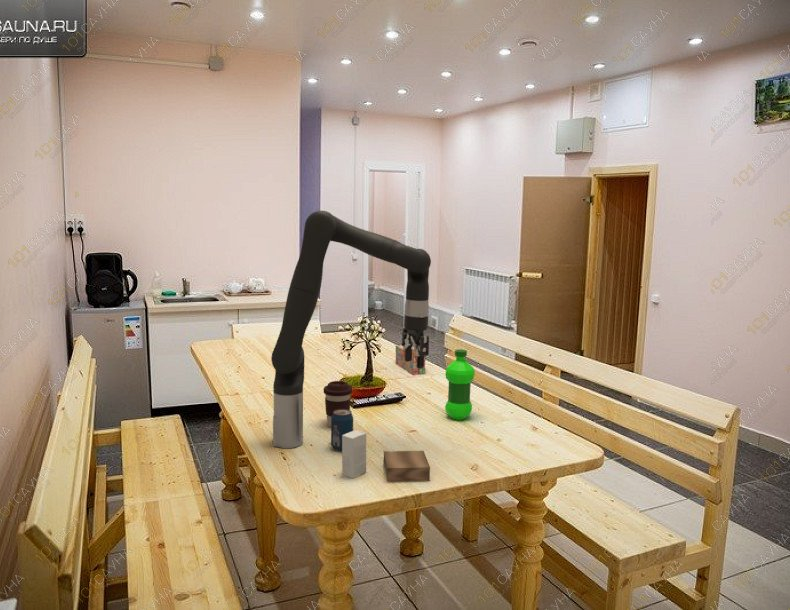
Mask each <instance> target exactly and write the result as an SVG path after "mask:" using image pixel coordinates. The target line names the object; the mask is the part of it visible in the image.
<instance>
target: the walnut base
mask: <svg viewBox="0 0 790 610" xmlns="http://www.w3.org/2000/svg"><path fill="white" fill-rule="evenodd" d="M382 461H383V469H384V474H385V477H386V478H385V479H386V482H387V483H389V482H390V483H393V482H394V483H395V482H425V481H426V482H427V481H430V479H431V478H430V477H431V466H430V463H429V461H428V458H427V455H426V453H425V451H424V450H390V451H388V450H387V451H385V450H383V460H382Z"/></svg>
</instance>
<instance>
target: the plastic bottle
mask: <svg viewBox="0 0 790 610" xmlns="http://www.w3.org/2000/svg"><path fill="white" fill-rule="evenodd" d="M467 355H468V350H467V349H455V350H454V356H455V360H454V361H452V362H451V363H450V364H449V365H448V366H447V367H446V370H445V379H446V380H447V381H448V394H447V395H448V397H447V402H446V403H445V406H444V408H445V409H444V410H445V413H446V414H447V415H448V416H450V418H451V419H453V420H457V421H461V420H465V419H466V418H467V417H469V416H470V414H471V413H472V410H473V404H472V402H471V387H472V386H471V383H472V381H473V380H474V378H475V375H476V374H475V373H476V372H475V368H474V366H472V365H471V364H470V363H469V362H468V361H467V360H466V357H467Z"/></svg>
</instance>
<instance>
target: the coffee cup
mask: <svg viewBox="0 0 790 610" xmlns="http://www.w3.org/2000/svg"><path fill="white" fill-rule="evenodd" d="M323 394H324V395H325V397H324V402H325V403H324V405H325V414H326V422H327V423H326V424H327V426H328V427H330V428H331V417H332V415H333V411H334V410H337V409H348V410H350V411H351V401H352V399H351V395H352V394H353V387H352V386H350V385H349V383H348V382H346V381H343V380H334V381H329V382H328V383H327V385H325V386H324V387H323Z"/></svg>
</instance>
